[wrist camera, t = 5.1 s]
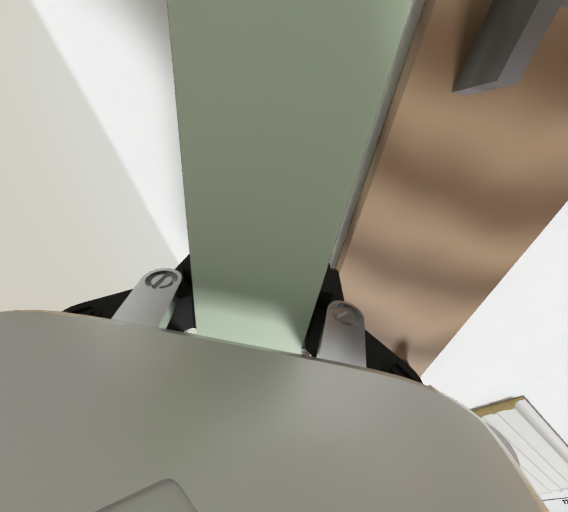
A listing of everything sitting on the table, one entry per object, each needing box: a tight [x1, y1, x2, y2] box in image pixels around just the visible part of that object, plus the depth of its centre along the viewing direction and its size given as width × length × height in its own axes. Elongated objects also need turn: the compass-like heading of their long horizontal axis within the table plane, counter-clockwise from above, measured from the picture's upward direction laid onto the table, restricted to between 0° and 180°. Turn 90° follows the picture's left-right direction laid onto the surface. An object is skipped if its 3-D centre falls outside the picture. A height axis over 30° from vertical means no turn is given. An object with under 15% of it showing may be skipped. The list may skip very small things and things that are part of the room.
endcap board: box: [306, 0, 568, 377], centre depth 16 cm, size 31×12×4 cm, turn 171°
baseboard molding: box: [472, 396, 568, 504], centre depth 32 cm, size 31×3×12 cm
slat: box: [167, 0, 413, 354], centre depth 10 cm, size 26×4×5 cm, turn 171°
